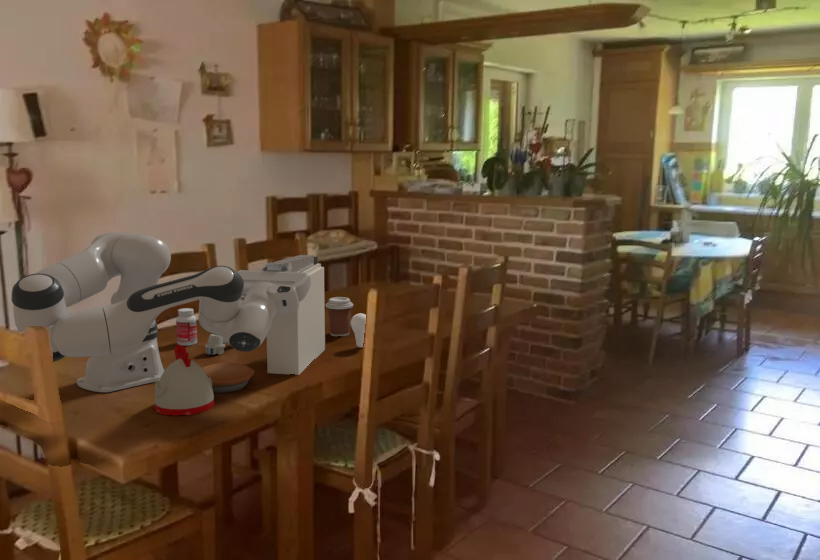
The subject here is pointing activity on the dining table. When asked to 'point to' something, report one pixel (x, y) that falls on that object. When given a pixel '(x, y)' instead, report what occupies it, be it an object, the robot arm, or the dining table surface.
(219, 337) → the toothbrush head
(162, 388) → the kitchen timer
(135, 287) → the robot arm
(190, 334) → the pill bottle
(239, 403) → the dining table surface
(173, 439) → the dining table surface
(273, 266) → the brushed metal bar
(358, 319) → the lightbulb
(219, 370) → the pie
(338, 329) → the coffee cup
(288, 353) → the stand
